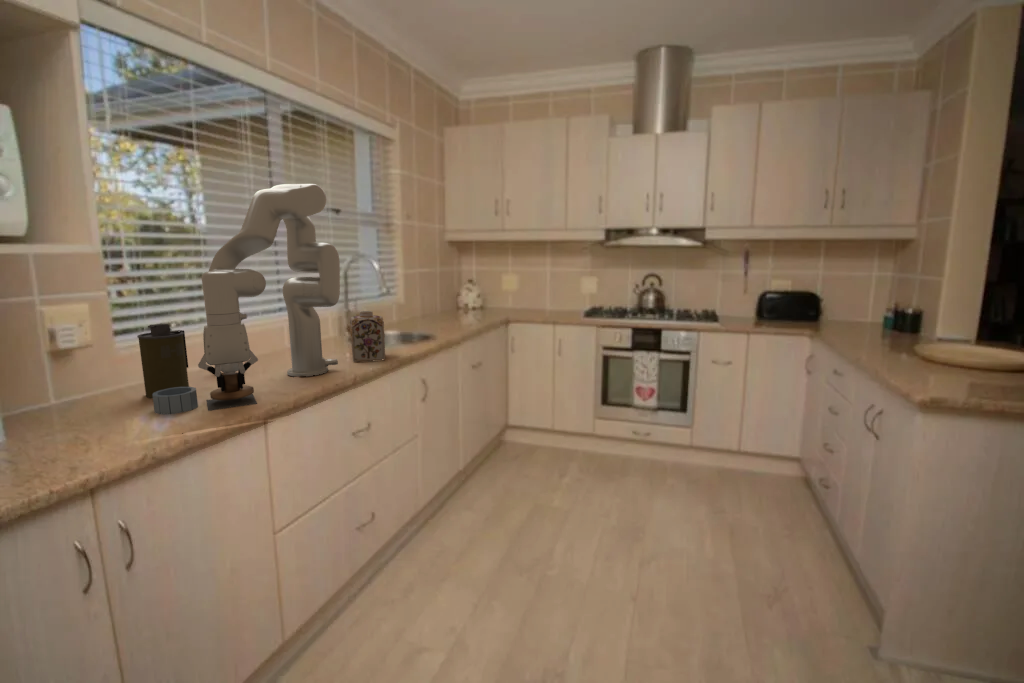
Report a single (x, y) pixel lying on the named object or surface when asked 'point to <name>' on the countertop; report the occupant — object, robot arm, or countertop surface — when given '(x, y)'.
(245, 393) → the lid
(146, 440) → the countertop surface
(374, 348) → the decorative jar
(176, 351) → the canister
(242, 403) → the mat
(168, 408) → the grey short cylinder
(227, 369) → the donut
